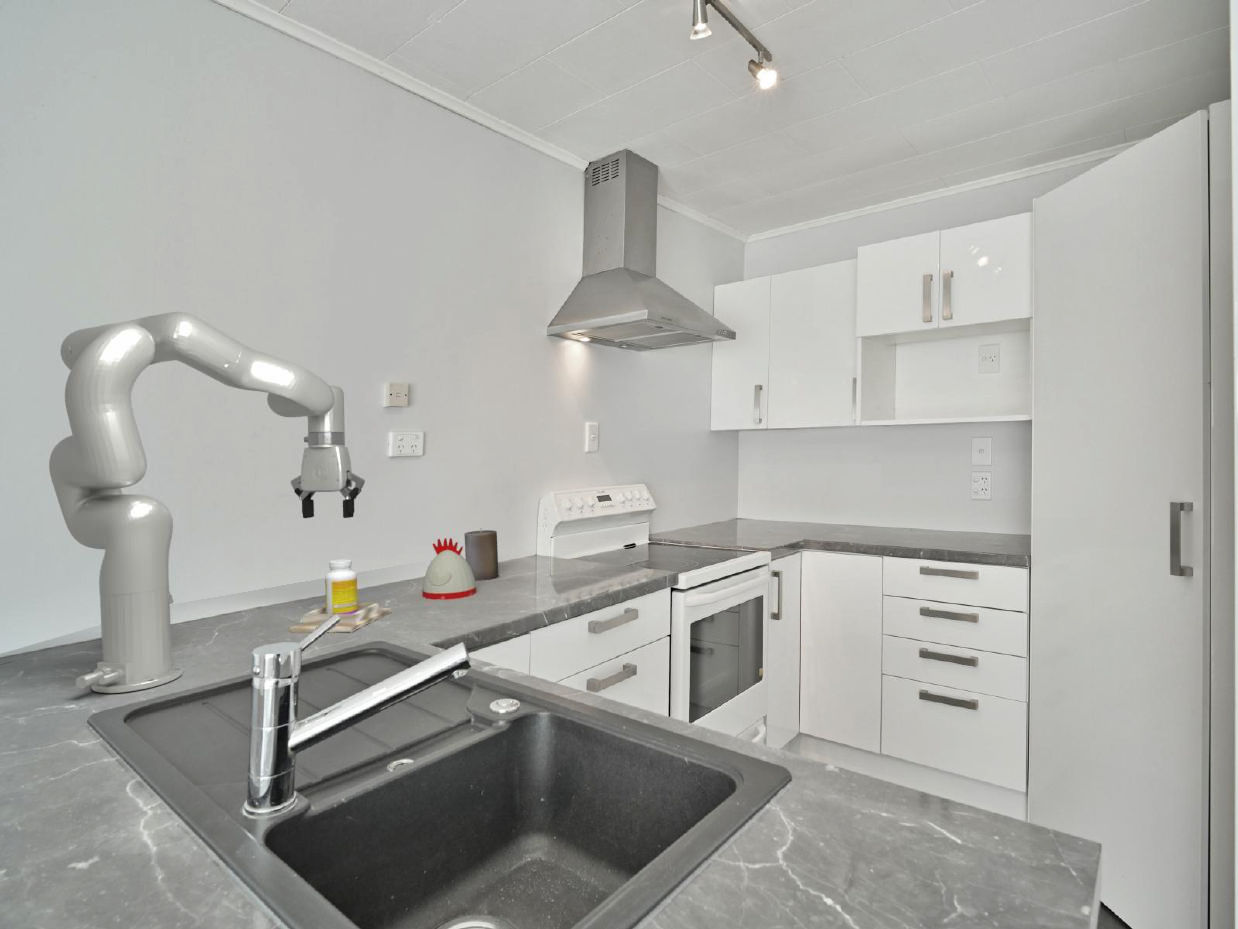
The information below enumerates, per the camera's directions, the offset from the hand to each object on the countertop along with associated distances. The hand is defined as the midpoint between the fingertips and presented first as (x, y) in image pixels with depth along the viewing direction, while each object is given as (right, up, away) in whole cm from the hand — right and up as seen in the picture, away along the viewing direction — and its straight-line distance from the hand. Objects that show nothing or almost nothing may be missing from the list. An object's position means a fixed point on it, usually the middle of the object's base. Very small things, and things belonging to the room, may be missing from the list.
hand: (328, 517), depth 150 cm
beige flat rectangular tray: (+3, -24, +1) cm, 24 cm away
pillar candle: (+24, -22, +52) cm, 61 cm away
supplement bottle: (+3, -23, +1) cm, 23 cm away
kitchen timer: (+20, -23, +29) cm, 42 cm away
